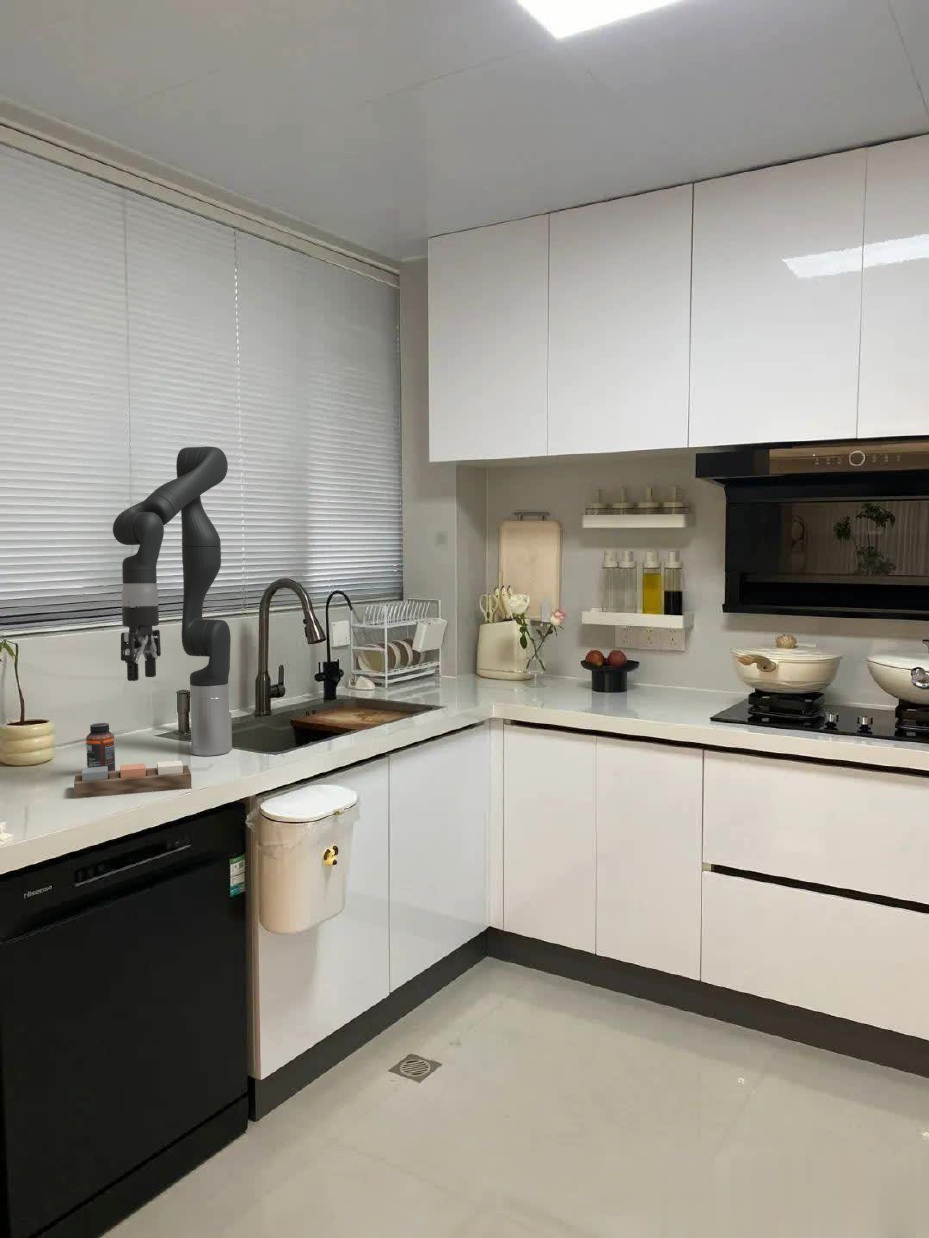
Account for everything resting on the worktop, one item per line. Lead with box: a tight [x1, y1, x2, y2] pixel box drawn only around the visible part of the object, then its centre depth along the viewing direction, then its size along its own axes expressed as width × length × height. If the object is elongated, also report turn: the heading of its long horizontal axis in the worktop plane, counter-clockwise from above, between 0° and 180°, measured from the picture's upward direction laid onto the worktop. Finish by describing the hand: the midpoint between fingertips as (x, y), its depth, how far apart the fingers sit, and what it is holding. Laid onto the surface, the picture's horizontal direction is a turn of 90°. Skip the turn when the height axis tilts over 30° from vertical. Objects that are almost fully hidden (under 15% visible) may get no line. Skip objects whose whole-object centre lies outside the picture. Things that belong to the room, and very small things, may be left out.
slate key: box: [81, 766, 108, 781], centre depth 198 cm, size 5×5×2 cm
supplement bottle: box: [85, 722, 116, 771], centre depth 214 cm, size 6×6×11 cm
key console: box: [73, 764, 192, 799], centre depth 201 cm, size 23×9×3 cm, turn 111°
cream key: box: [156, 760, 184, 775], centre depth 204 cm, size 5×5×2 cm
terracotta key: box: [119, 762, 146, 778], centre depth 201 cm, size 5×5×2 cm
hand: (141, 678), depth 206 cm, fingers open, 8 cm apart
